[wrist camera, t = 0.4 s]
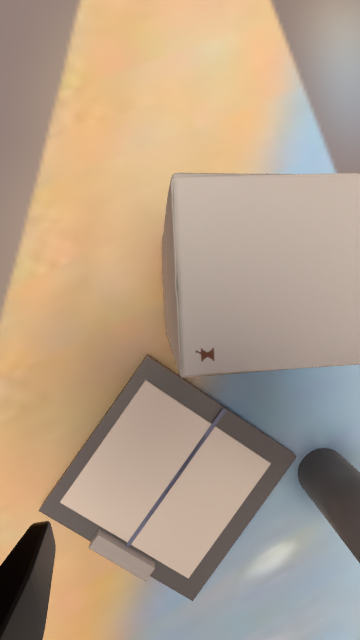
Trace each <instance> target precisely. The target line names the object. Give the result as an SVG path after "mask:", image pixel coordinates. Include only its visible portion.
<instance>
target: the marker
mask: <svg viewBox="0 0 360 640" xmlns="http://www.w3.org/2000/svg"><path fill="white" fill-rule="evenodd" d="M298 478H299V482H300V484H301V486H302V487H303V489H304V490H305V491H306V493H307V494H308V495H309V497H310V498H311V499H312V501H313V502H314V503H315V505H316V506H317V507H318V509H319V510H320V511H321V513H322V514H323V515H324V517H325V518H326V519H327V520H328V522H329V523H330V524H331V526H332V527H333V528H334V530H335V531H336V532H337V534H338V535H339V536H340V538H341V539H342V540H343V542H344V543H345V544H346V546H347V547H348V548H349V550H350V551H351V552H352V553H353V555H354V556H355V557H356V559H357V560H358V561H359V563H360V472H359V471H358V470H357V469H356V468H354V467H353V466H352V465H351V464H350V463H349V462H348V461H346V460H345V459H344V458H343V457H342V456H341V455H340V454H338V453H337V452H336V451H334V450H331V449H326V448H322V449H317V450H314V451H312V452H310V453H309V454H308V455H306V456H305V458H304V459H303V460H302V462H301V464H300V466H299V470H298Z"/></svg>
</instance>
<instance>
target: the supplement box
mask: <svg viewBox="0 0 360 640" xmlns="http://www.w3.org/2000/svg"><path fill="white" fill-rule="evenodd" d="M162 274H163V295H164V310H165V322H166V335H167V337H168V340H169V344H170V347H171V350H172V353H173V356H174V359H175V362H176V366H177V369H178V372H179V375H180V377H182V378H187V377H197V376H210V375H222V374H234V373H246V372H258V371H270V370H282V369H297V368H311V367H327V366H342V365H356V364H360V173H340V174H225V173H175V174H173V176H172V178H171V182H170V187H169V192H168V198H167V206H166V215H165V223H164V232H163V238H162Z"/></svg>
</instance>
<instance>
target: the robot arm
mask: <svg viewBox="0 0 360 640" xmlns="http://www.w3.org/2000/svg"><path fill="white" fill-rule="evenodd" d="M54 558H55V540H54V536H53V531H52V527H51V524H50V522H49V521H45V522H37V523H34V524H32V525H31V526H30V527H29V529H28V530H27V531H26V533H25V534H24V535H23V537H22V538H21V539H20V541H19V542H18V543H17V545H16V546H15V547H14V548H13V550H12V551H11V552H10V554H9V555H8V556H7V558H6V559H5V560H4V562H3V563H2V564H1V566H0V640H42V639H43V635H44V630H45V624H46V617H47V610H48V603H49V595H50V588H51V580H52V573H53V566H54Z"/></svg>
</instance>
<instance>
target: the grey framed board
mask: <svg viewBox="0 0 360 640" xmlns="http://www.w3.org/2000/svg"><path fill="white" fill-rule="evenodd" d="M295 458H296V455H295V454H294V453H293V452H291V451H290V450H288V449H287V448H285V447H284V446H282V445H281V444H279V443H278V442H276V441H275V440H273V439H272V438H270V437H269V436H268V435H266V434H265V433H263V432H262V431H260V430H259V429H257V428H256V427H254V426H253V425H251V424H250V423H248V422H247V421H245V420H244V419H242V418H241V417H239V416H238V415H236V414H235V413H233V412H232V411H230V410H229V409H228V408H226V407H225V406H223V405H222V404H220V403H219V402H217V401H216V400H214V399H213V398H211V397H210V396H208V395H207V394H205V393H204V392H202V391H201V390H199V389H198V388H196V387H195V386H193V385H192V384H190V383H189V382H188V381H186V380H185V379H183V378H182V377H180V376H179V375H177V374H176V373H174V372H173V371H171V370H170V369H168V368H167V367H165V366H164V365H162V364H161V363H159V362H158V361H156V360H155V359H153V358H152V357H150V356H149V355H148V354H147V356H146V357H145V359H144V360H143V362H142V363H141V364H140V366H139V367H138V369H137V370H136V372H135V373H134V374H133V376H132V377H131V379H130V380H129V382H128V383H127V384H126V386H125V387H124V389H123V390H122V392H121V393H120V394H119V396H118V397H117V399H116V400H115V402H114V403H113V404H112V406H111V407H110V409H109V410H108V412H107V413H106V414H105V416H104V417H103V419H102V420H101V421H100V423H99V424H98V426H97V427H96V429H95V430H94V431H93V433H92V434H91V436H90V437H89V439H88V440H87V441H86V443H85V444H84V446H83V447H82V449H81V450H80V451H79V453H78V454H77V456H76V457H75V459H74V460H73V461H72V463H71V464H70V466H69V467H68V469H67V470H66V471H65V473H64V474H63V476H62V477H61V479H60V480H59V481H58V483H57V484H56V486H55V487H54V489H53V490H52V491H51V493H50V494H49V496H48V497H47V498H46V500H45V501H44V503H43V504H42V506H41V508H40V509H39V511H40V512H42V513H43V514H45V515H47V516H48V517H50V518H52V519H54V520H55V521H57V522H59V523H60V524H62V525H64V526H66V527H67V528H69V529H71V530H72V531H74V532H76V533H77V534H79V535H81V536H83V537H84V538H86V539H88V540H89V541H91V542H90V546H89V549H91V550H93V551H94V552H96V553H98V554H100V555H101V556H103V557H105V558H106V559H108V560H110V561H112V562H113V563H115V564H117V565H118V566H120V567H122V568H124V569H125V570H127V571H129V572H130V573H132V574H134V575H136V576H137V577H139V578H141V579H142V580H144V581H146V580H147V579H148V577H149V576H151V577H153V578H154V579H156V580H158V581H159V582H161V583H163V584H165V585H166V586H168V587H170V588H171V589H173V590H175V591H177V592H178V593H180V594H182V595H183V596H185V597H187V598H188V599H190V600H192V601H193V600H194V598H195V597H196V596H197V594H198V593H199V591H200V590H201V589H202V587H203V586H204V584H205V583H206V582H207V580H208V579H209V578H210V576H211V575H212V573H213V572H214V571H215V569H216V568H217V566H218V565H219V564H220V562H221V561H222V560H223V558H224V557H225V555H226V554H227V553H228V551H229V550H230V548H231V547H232V546H233V544H234V543H235V541H236V540H237V539H238V537H239V536H240V535H241V533H242V532H243V530H244V529H245V528H246V526H247V525H248V523H249V522H250V521H251V519H252V518H253V517H254V515H255V514H256V512H257V511H258V510H259V508H260V507H261V505H262V504H263V503H264V501H265V500H266V499H267V497H268V496H269V494H270V493H271V492H272V490H273V489H274V487H275V486H276V485H277V483H278V482H279V480H280V479H281V478H282V476H283V475H284V474H285V472H286V471H287V469H288V468H289V467H290V465H291V464H292V462H293V461H294V460H295Z"/></svg>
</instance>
